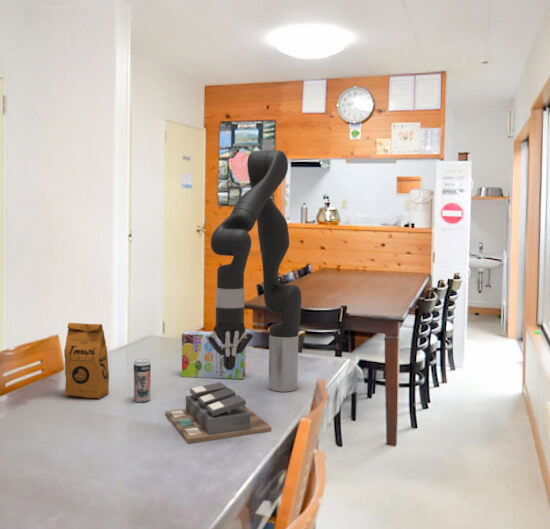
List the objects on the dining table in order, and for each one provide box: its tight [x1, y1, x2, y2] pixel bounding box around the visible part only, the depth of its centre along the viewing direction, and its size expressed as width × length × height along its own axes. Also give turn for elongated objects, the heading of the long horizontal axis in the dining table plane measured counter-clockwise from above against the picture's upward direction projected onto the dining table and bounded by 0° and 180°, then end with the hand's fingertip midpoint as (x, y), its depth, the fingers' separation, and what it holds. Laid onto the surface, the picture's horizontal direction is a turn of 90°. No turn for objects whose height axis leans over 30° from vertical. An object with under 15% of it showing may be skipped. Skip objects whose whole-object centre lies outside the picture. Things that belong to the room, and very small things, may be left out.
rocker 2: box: [198, 387, 237, 408], centre depth 160 cm, size 5×9×2 cm, turn 115°
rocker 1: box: [189, 381, 228, 398], centre depth 166 cm, size 5×9×2 cm, turn 115°
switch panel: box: [164, 394, 272, 445], centre depth 160 cm, size 22×22×5 cm
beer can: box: [133, 358, 152, 403], centre depth 178 cm, size 5×5×12 cm
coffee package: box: [63, 322, 110, 400], centre depth 181 cm, size 10×12×22 cm
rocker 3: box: [206, 394, 247, 416], centre depth 154 cm, size 5×9×2 cm, turn 115°
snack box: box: [181, 330, 247, 380], centre depth 205 cm, size 21×6×15 cm, turn 84°
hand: (229, 369), depth 161 cm, fingers closed
